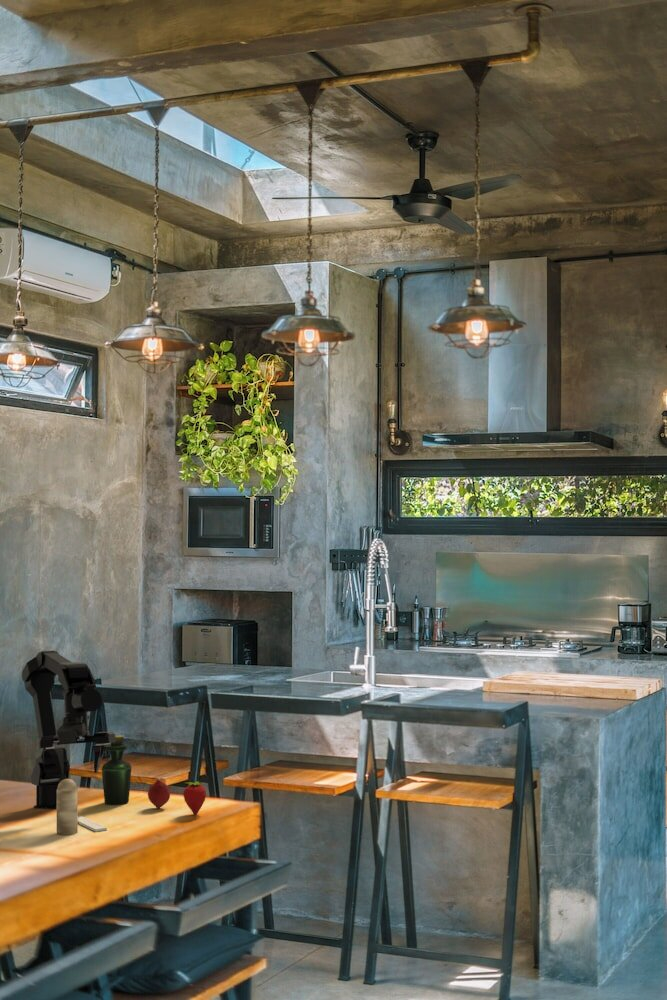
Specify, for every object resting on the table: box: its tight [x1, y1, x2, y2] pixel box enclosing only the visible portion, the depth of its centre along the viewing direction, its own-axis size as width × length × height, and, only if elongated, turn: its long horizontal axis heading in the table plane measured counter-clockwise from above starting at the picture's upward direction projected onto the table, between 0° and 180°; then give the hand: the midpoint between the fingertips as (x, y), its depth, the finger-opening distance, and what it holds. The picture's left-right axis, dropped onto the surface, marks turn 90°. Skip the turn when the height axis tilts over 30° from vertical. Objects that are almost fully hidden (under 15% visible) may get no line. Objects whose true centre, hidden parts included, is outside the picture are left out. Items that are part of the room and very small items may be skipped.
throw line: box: [78, 816, 108, 833], centre depth 304 cm, size 16×3×1 cm, turn 33°
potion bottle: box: [101, 734, 132, 806], centre depth 332 cm, size 8×8×18 cm
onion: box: [147, 777, 171, 809], centre depth 324 cm, size 6×6×8 cm
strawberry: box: [182, 780, 207, 815], centre depth 316 cm, size 6×8×10 cm
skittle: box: [56, 778, 79, 836], centre depth 296 cm, size 5×5×13 cm
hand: (78, 774), depth 311 cm, fingers open, 9 cm apart
